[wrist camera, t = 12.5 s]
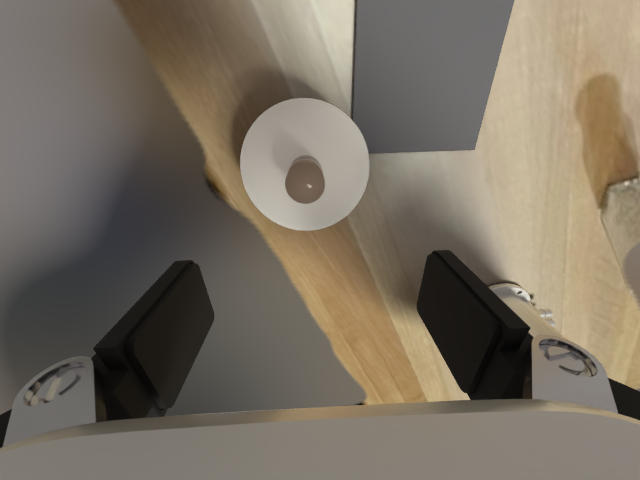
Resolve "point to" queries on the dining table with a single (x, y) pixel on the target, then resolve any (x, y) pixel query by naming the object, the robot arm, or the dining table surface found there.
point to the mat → (425, 71)
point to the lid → (304, 164)
